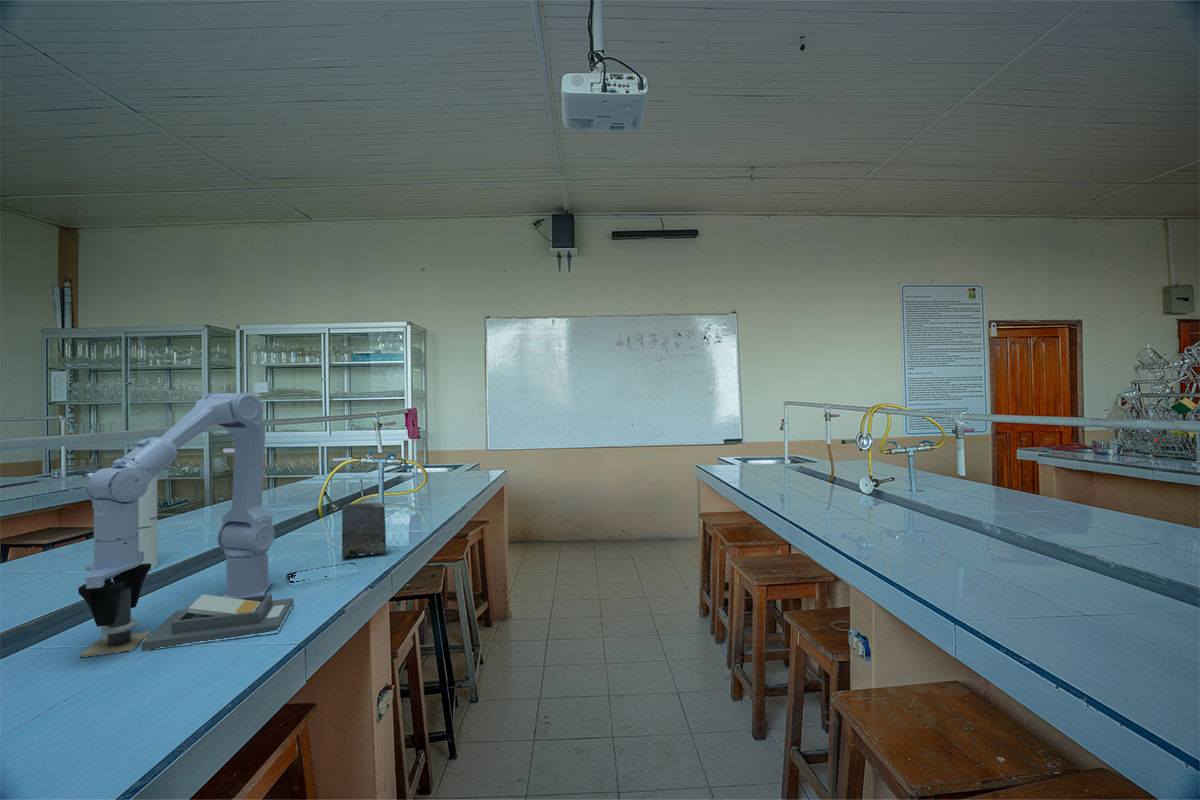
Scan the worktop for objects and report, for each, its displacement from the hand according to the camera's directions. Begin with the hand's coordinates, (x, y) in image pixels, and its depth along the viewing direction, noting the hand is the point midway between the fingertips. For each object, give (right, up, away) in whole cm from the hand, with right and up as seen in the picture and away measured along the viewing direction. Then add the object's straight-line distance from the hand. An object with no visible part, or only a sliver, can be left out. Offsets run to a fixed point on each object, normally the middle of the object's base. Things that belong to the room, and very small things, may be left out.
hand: (117, 616), depth 92 cm
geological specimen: (+20, -5, +52) cm, 56 cm away
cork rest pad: (0, -5, 0) cm, 5 cm away
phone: (+17, -6, +37) cm, 41 cm away
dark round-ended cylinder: (0, -5, 0) cm, 5 cm away
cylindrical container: (-31, -5, +41) cm, 52 cm away
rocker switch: (+13, -2, +8) cm, 15 cm away
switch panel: (+13, -5, +8) cm, 16 cm away
